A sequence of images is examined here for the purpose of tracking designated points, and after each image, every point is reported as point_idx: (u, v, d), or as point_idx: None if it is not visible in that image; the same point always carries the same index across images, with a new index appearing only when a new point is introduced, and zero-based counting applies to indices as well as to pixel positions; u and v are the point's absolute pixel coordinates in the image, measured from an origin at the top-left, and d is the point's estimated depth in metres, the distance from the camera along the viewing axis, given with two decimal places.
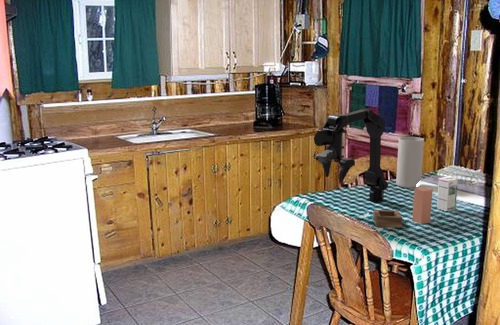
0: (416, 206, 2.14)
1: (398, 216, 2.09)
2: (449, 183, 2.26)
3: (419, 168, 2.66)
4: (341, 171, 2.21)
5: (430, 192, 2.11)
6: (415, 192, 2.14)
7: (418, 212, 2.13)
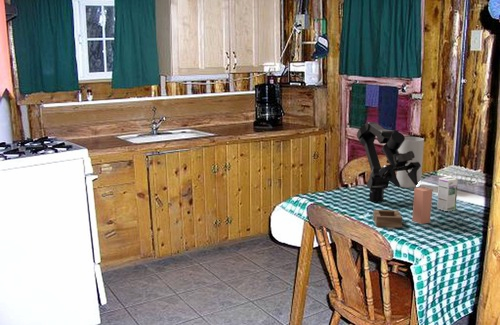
0: (416, 206, 2.14)
1: (398, 216, 2.09)
2: (449, 183, 2.26)
3: (419, 168, 2.66)
4: (415, 173, 2.23)
5: (430, 192, 2.11)
6: (415, 192, 2.14)
7: (418, 212, 2.13)
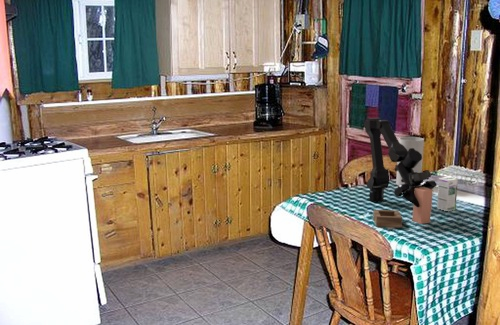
0: None
1: (398, 216, 2.09)
2: (449, 183, 2.26)
3: (419, 168, 2.66)
4: None
5: (430, 192, 2.11)
6: (415, 192, 2.14)
7: (418, 212, 2.13)
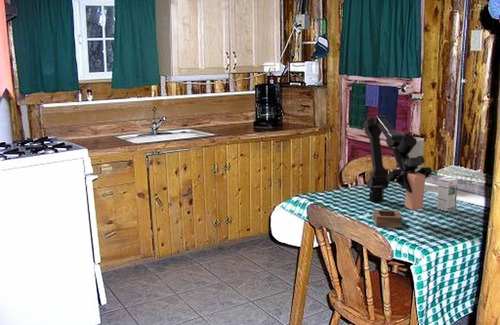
0: (408, 192, 2.12)
1: (398, 216, 2.09)
2: (449, 183, 2.26)
3: (419, 168, 2.66)
4: None
5: (423, 178, 2.08)
6: (408, 177, 2.11)
7: (410, 197, 2.11)
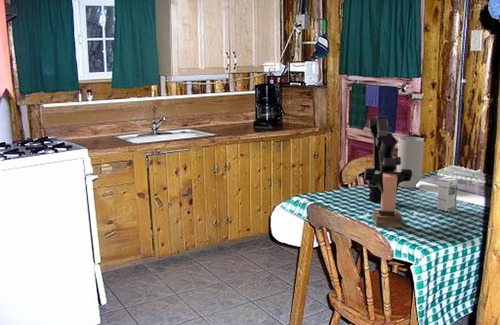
0: None
1: (398, 216, 2.09)
2: (449, 183, 2.26)
3: (419, 168, 2.66)
4: (398, 181, 2.11)
5: (394, 179, 2.07)
6: (382, 177, 2.12)
7: (382, 197, 2.11)
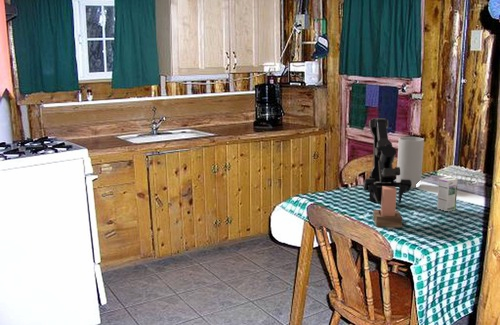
0: (381, 204, 2.13)
1: (398, 216, 2.09)
2: (449, 183, 2.26)
3: (419, 168, 2.66)
4: (401, 191, 2.11)
5: (394, 191, 2.09)
6: (382, 190, 2.13)
7: (382, 210, 2.12)
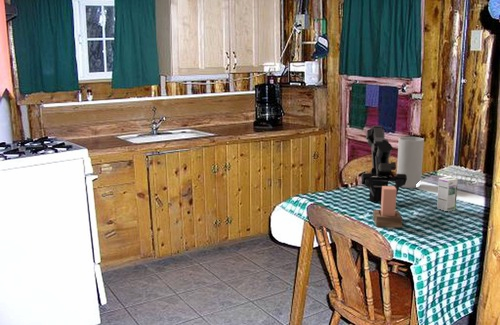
0: (381, 204, 2.13)
1: (398, 216, 2.09)
2: (449, 183, 2.26)
3: (419, 168, 2.66)
4: (397, 185, 2.21)
5: (393, 191, 2.09)
6: (382, 190, 2.13)
7: (382, 210, 2.12)
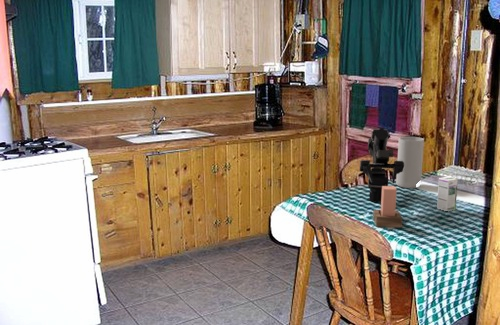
0: (381, 204, 2.13)
1: (398, 216, 2.09)
2: (449, 183, 2.26)
3: (419, 168, 2.66)
4: (395, 172, 2.26)
5: (393, 191, 2.09)
6: (382, 190, 2.13)
7: (382, 210, 2.12)
